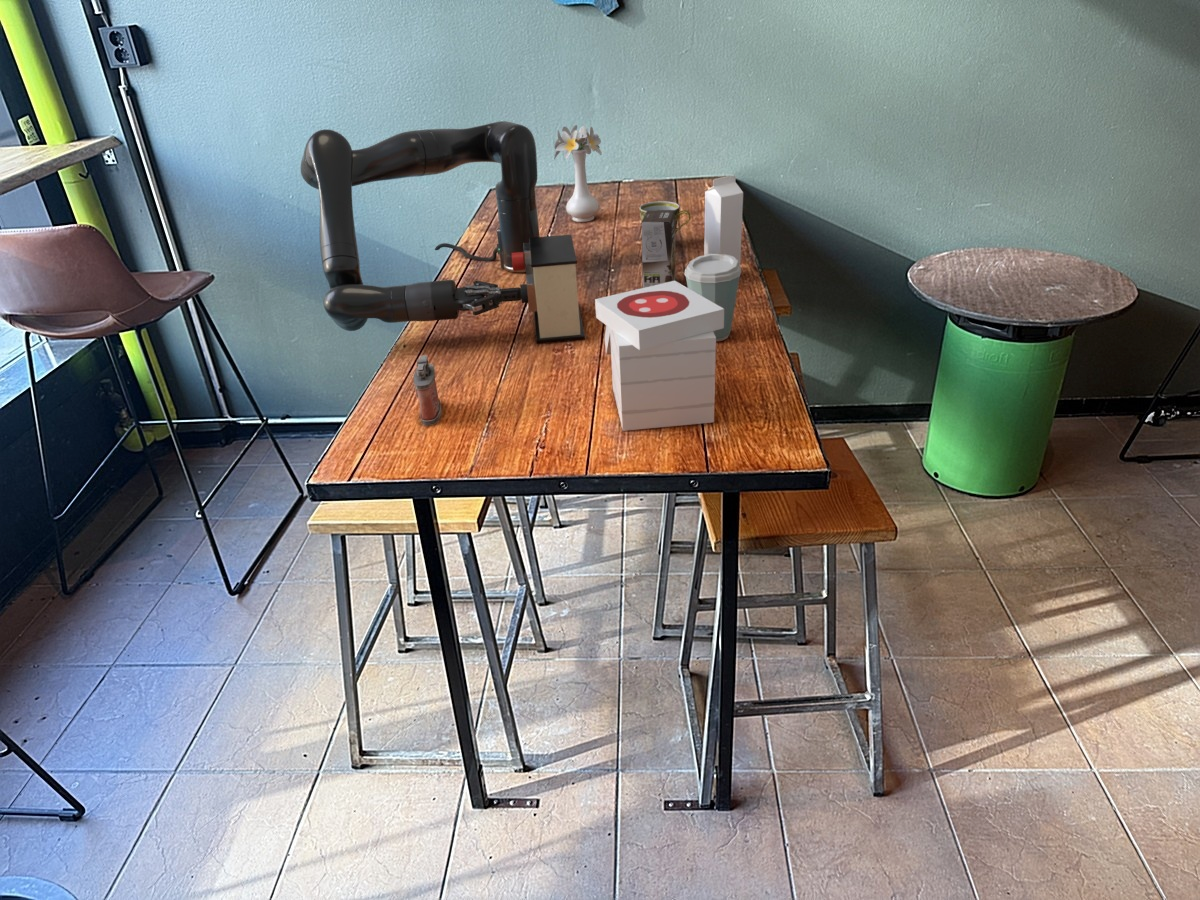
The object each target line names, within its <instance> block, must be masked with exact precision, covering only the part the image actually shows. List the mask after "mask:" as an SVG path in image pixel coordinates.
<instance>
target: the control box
mask: <svg viewBox="0 0 1200 900" xmlns="http://www.w3.org/2000/svg"><path fill="white" fill-rule="evenodd" d="M572 236H573V235H572V234H562V235H548V236H540V237H535V238H529V241H530V243H523V246H524V258H525V268H526V272H525V280H526V281H525V284H526V285H527V294H528V303H527V304H528V311H529V313H533V314H534V315H533V317H534V329H535V341H536V344H537V345H542V344H553V343H562V342H575V341H576V342H577V341H585V340H586V335H585V330H584V325H583V320H582V314H581V310H580V309H581V308H580V305H579V295H578V293H579V291H578V279H577V264H578V258H577V254H576V249H575V245H574V240H573V237H572Z"/></svg>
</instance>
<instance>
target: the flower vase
mask: <svg viewBox="0 0 1200 900" xmlns="http://www.w3.org/2000/svg"><path fill="white" fill-rule="evenodd" d="M577 129H578V125H577V124H575V125H574V126H573V127H572V128H571V129H569V128H568V127H567V126H562V128H561V133H560V131H559V129H557V139H555V142H554V149H555V150H556V151H555V154H554V157H553V159H554V160H555V159H556V158H557V157H558V155H559V154H560V153H561V152H563V151H564V154H563V155H564V157H563V158H564V159H566V160H567V159H568V158H569V157H570V155H572V159H573V165H574V190H573V193H572V195H571V197H570V198H569V199H568V200H567V203H566V206H565V211H566V213H567V214H568V215H569V216H570V217H572V218H571V220H572V221H573V222H577V223H588V222H591V221H594V219H595V215H597V214H598V212H599V209H600V204H599V202H598V200H597V198H596V197H595V196H594V195H593V194H592V193H591V191H590V189H589V186H588V185H589V184H588V179H587V169H586V157H587V155H590V154H592V152H596V153H598V154H599V155H600V156H602V155H603V153H602V151H601V147H600V144H601V143H602V139H601V138H600V136H599V135H598V134H597V133H595V131H594V128H593V126H590V127H589V130H588V128H587V127H586V126H585V125H582V126H581V127H580V128H579V131H577Z"/></svg>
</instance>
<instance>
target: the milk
mask: <svg viewBox="0 0 1200 900" xmlns="http://www.w3.org/2000/svg"><path fill="white" fill-rule="evenodd" d="M736 178H737V177H736V175H734V174H733V175H729V176H723V177H719V178H714V179H713V180H712V187H710V188H709V189H707V190H705V191H704V233H703V234H704V235H703V236H704V240H703V243H704V244H703V245H704V246H703V249H704V251H703V255H707V254H726V255H730V256H734V257H735V258H736V259H737V260H738V261H739V262H738V265H740V266H741V257H742V235H743V208H744V191H743V190H742V189H741V187H740V186H739V184H738V183H737V182H736Z"/></svg>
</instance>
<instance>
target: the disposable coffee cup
mask: <svg viewBox="0 0 1200 900" xmlns="http://www.w3.org/2000/svg"><path fill="white" fill-rule="evenodd" d="M738 262H739V261H738V260H737V259H736V258H735V257H734V256H730V255H726V254H707V255H704V254H703V255H699V256H696V257H695V258H694V259H691V260H690V261H689V262H688V265H687V266H686V267H685V269H684V274H683V275H684V276H685V279H686V285H687V286H686V287H687V288H689V289H690V290H692V291H694V292H696V293H697V294H699V295H701V296H703V297H704V298H706V299H708V300H710V301H711V302H713V303H715V304H716V305H718V306H720V307H722V308H723V309H724V328H723V329H719V330H715V331H713V333H714V335H715V337H716V343H717V342H723V341H725V340H727V339H728V338H729V336H730V335H731V331H732V325H733V320H734V314H735V308H736V302H737V294H738V289H739V283H740V276H741V274H742V273H743V272H742V266H741V264H740V265H738Z"/></svg>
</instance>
